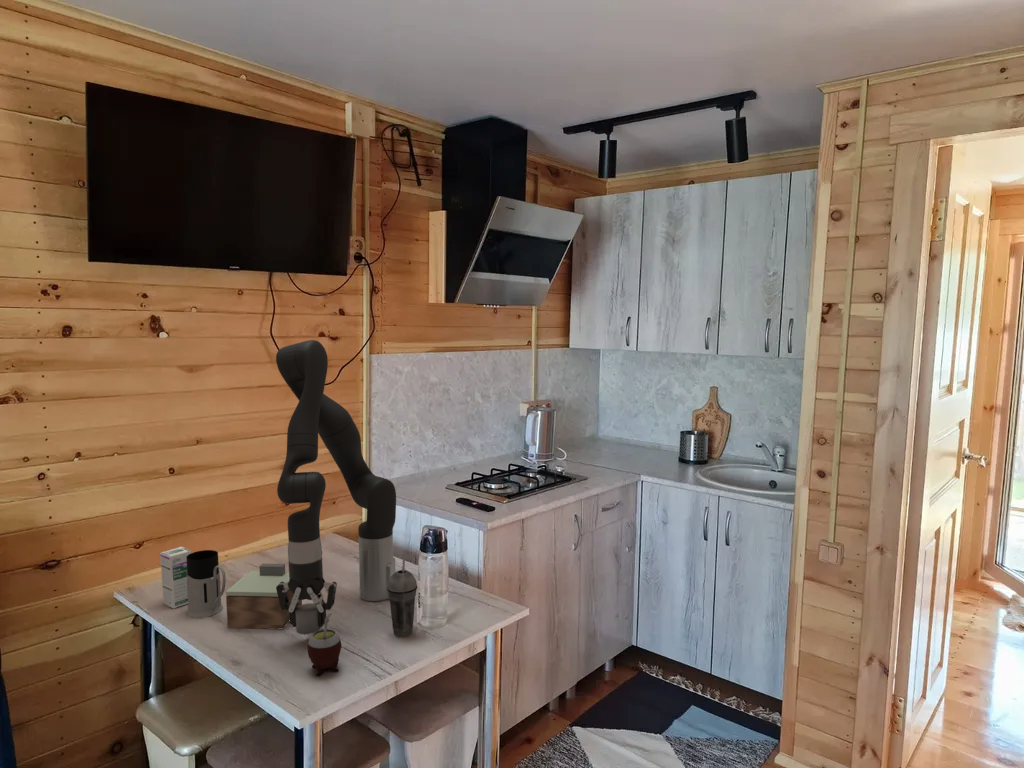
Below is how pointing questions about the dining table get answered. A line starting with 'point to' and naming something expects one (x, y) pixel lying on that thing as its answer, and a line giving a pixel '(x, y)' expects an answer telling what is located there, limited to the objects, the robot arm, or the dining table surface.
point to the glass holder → (204, 584)
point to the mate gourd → (324, 649)
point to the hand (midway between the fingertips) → (308, 625)
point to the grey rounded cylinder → (307, 619)
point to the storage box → (257, 611)
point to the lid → (260, 581)
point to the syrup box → (174, 576)
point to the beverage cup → (402, 601)
